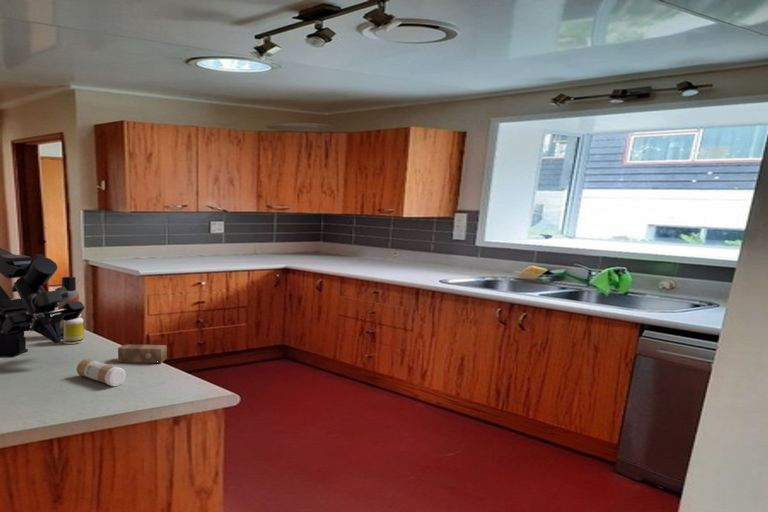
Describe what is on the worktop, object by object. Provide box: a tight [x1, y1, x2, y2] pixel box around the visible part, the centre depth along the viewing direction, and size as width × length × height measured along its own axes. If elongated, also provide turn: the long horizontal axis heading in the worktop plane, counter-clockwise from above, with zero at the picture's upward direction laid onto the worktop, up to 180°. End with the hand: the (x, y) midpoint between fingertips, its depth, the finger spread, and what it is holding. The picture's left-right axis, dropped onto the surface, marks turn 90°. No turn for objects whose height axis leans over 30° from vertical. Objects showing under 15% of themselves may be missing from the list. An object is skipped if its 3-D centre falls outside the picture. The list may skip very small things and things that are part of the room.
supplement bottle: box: [62, 313, 85, 345], centre depth 157 cm, size 5×5×10 cm
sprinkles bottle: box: [76, 358, 127, 387], centre depth 126 cm, size 5×5×14 cm
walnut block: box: [117, 344, 168, 364], centre depth 144 cm, size 4×4×12 cm
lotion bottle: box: [57, 276, 80, 339], centre depth 162 cm, size 6×6×20 cm
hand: (58, 342), depth 134 cm, fingers closed
